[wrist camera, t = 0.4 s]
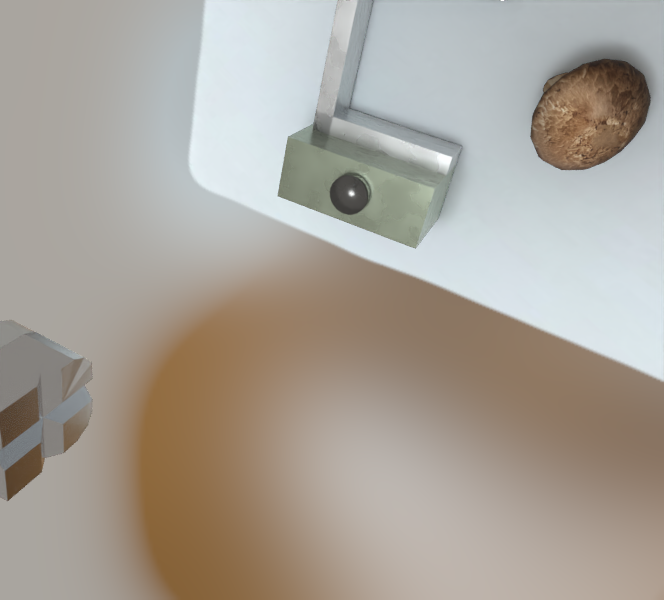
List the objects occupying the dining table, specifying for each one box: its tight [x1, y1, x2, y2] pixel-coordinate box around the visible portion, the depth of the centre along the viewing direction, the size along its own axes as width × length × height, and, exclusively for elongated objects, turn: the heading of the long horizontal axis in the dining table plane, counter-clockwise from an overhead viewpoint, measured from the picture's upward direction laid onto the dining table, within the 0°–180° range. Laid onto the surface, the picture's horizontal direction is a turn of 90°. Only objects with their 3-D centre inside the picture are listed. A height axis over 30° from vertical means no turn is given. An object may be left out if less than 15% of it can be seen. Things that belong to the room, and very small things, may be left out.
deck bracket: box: [278, 0, 505, 249], centre depth 47 cm, size 19×12×8 cm, turn 168°
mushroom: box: [530, 59, 651, 170], centre depth 44 cm, size 8×8×6 cm
